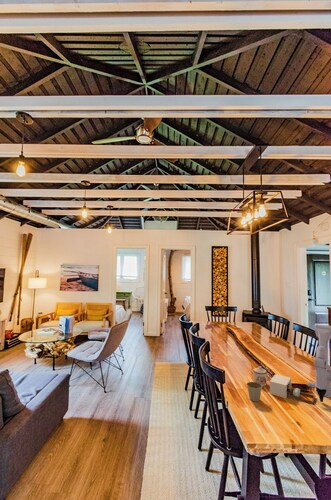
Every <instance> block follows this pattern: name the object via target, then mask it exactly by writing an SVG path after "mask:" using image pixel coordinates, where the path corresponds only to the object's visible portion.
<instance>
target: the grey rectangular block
mask: <svg viewBox="0 0 331 500" xmlns="http://www.w3.org/2000/svg"><path fill="white" fill-rule="evenodd" d="M288 384H289V385H288ZM287 385H288V386H289V388H290V390H289V392H290V391H291V389H292V377H290V376H285V375H280V374H277V373H275V374H274V375H273V376H272V377H271V378H270V380H269V395H274V396H277V397H280V398H283V399H287V397H288V395H287V393H288V392H287V391H288V390H287Z"/></svg>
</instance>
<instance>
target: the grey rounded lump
mask: <svg viewBox="0 0 331 500" xmlns="http://www.w3.org/2000/svg"><path fill="white" fill-rule="evenodd" d="M292 390H293V392H292V396H295V397H299V398H300V396H299V391H297V390H294V389H292Z"/></svg>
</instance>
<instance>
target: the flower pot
mask: <svg viewBox="0 0 331 500" xmlns="http://www.w3.org/2000/svg"><path fill="white" fill-rule="evenodd" d="M246 386H247V392H248V398H249V400H250V401H253V402H259V401H260V400H261V393H262V388H263V386H262V385H261V384H260V383H257V382H254V381H248V382H246Z"/></svg>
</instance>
